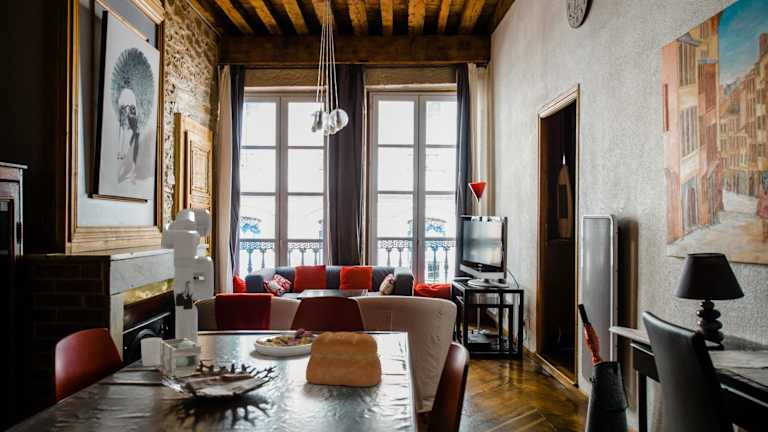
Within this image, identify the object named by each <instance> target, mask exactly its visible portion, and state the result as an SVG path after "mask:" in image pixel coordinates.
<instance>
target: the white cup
mask: <svg viewBox="0 0 768 432" xmlns="http://www.w3.org/2000/svg"><path fill="white" fill-rule="evenodd" d="M160 341H163V338H162V337H148V338H143V339H141V340H140V343H141V344H140V345H141V346H140V348H141V361H142V363H141V364H142V366H144V367H153V366H156V364H160Z"/></svg>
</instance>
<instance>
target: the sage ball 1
mask: <svg viewBox="0 0 768 432" xmlns="http://www.w3.org/2000/svg"><path fill="white" fill-rule="evenodd" d="M189 347H193V344H192V343H191V342H189V341H183V342H181V343H180V344H179V346H178V349H182V348H189Z"/></svg>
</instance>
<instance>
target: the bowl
mask: <svg viewBox="0 0 768 432" xmlns="http://www.w3.org/2000/svg"><path fill="white" fill-rule="evenodd" d="M318 336H319V335H315V334H313V333H312V332H311V331H306V330H305V329H304V328H299V329H297V330H296V331H295V333H293V332H292V333H291V332H290V333H279V334H278V333H277V334H269V335H264V336H262V337H259V338H256V339H255V340H253V346H254V350H255V351H256V352H257V353H259V354H261V355H262V356H267V357H275V358H276V357H277V358H280V357H281V358H286V357H289V358H290V357H298V356H299V357H300V356H304V355H308V354H311V345H312V343H313V341H314V340H315V339H316V337H318Z"/></svg>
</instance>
